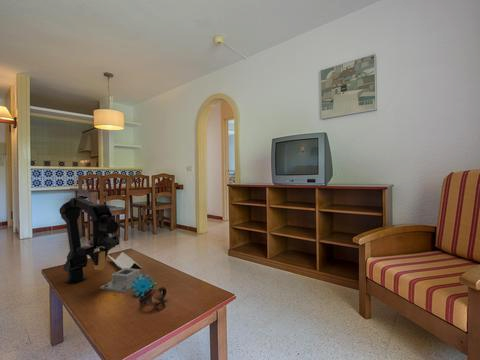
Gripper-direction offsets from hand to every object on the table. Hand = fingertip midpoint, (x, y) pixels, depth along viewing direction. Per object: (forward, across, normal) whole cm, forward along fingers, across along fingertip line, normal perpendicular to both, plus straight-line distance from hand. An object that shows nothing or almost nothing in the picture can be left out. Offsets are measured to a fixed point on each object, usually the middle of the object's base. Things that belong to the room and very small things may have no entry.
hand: (99, 264), depth 114 cm
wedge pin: (+2, 0, 0) cm, 2 cm away
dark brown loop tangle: (+13, -4, -34) cm, 36 cm away
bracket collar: (+12, +10, -6) cm, 17 cm away
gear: (+13, +4, -22) cm, 26 cm away
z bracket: (+12, +30, +14) cm, 35 cm away
